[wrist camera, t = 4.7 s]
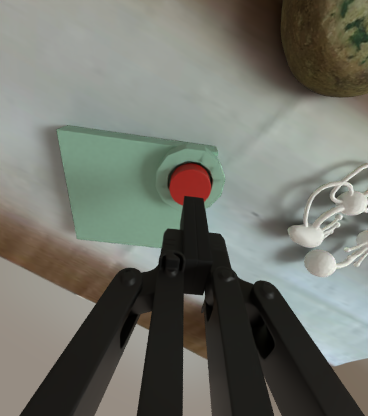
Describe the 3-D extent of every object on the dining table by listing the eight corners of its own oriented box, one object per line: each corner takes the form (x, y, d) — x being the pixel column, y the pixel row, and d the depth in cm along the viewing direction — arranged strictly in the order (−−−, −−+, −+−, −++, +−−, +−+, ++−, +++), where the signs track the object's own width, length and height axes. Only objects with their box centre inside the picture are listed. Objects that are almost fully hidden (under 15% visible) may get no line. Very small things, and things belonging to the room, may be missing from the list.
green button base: (83, 229, 29) (70, 248, 25) (66, 120, 21) (43, 128, 18) (201, 242, 30) (203, 262, 26) (225, 143, 22) (232, 154, 19)
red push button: (168, 196, 22) (167, 204, 20) (172, 160, 20) (171, 166, 18) (205, 200, 22) (206, 209, 21) (213, 165, 20) (215, 172, 18)
